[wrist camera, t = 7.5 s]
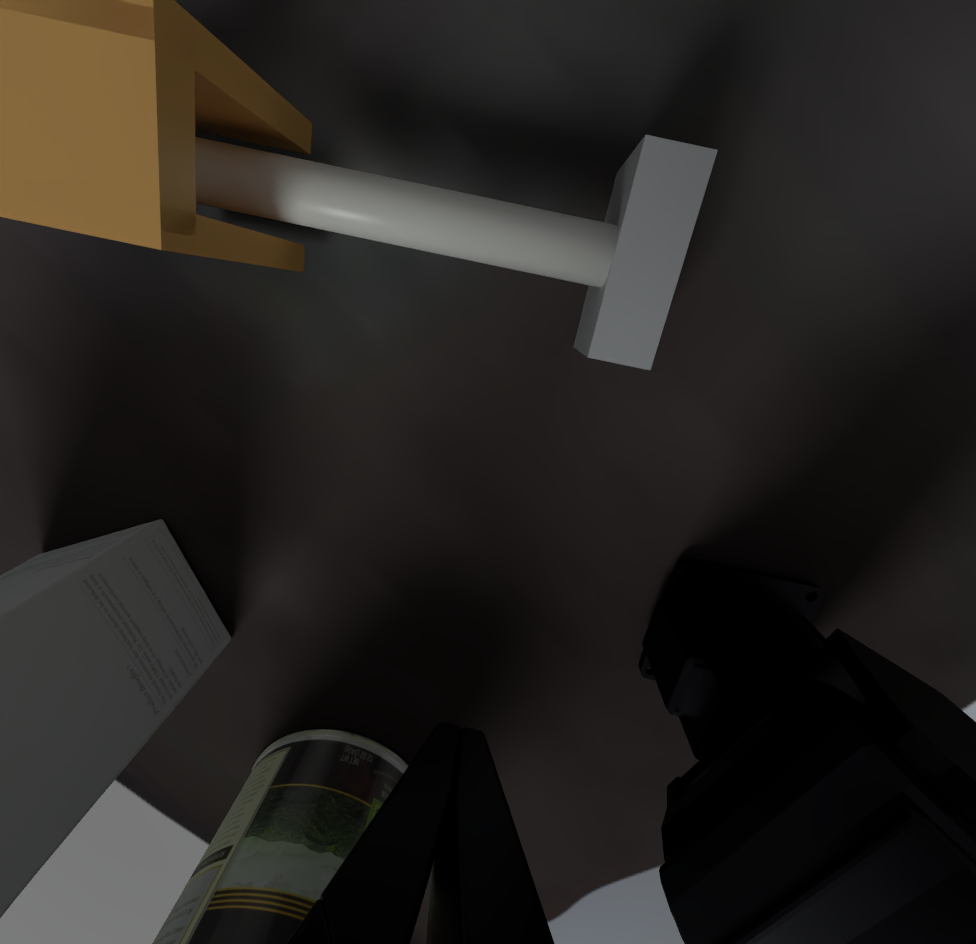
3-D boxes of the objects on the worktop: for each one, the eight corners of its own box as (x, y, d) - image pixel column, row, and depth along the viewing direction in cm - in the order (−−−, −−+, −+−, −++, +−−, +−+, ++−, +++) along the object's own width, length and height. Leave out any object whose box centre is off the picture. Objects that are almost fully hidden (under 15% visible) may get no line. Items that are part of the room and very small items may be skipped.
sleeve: (312, 123, 16) (152, -20, 9) (303, 272, 17) (161, 249, 10) (191, 97, 16) (-63, -65, 9) (193, 249, 17) (-22, 211, 10)
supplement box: (36, 551, 23) (-467, 808, 11) (167, 514, 22) (-237, 756, 10) (115, 670, 26) (-237, 990, 14) (238, 642, 24) (-28, 962, 13)
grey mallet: (672, 184, 17) (752, 123, 11) (623, 357, 19) (669, 379, 13) (49, 53, 16) (-195, -79, 11) (67, 242, 18) (-132, 214, 13)
